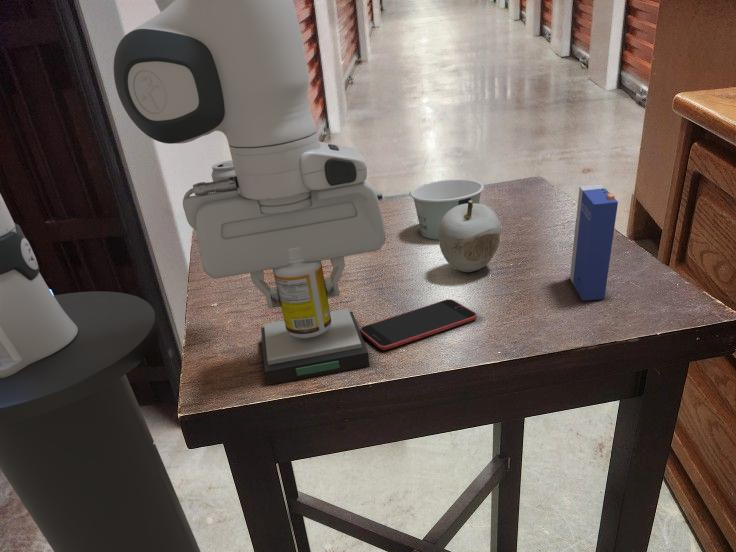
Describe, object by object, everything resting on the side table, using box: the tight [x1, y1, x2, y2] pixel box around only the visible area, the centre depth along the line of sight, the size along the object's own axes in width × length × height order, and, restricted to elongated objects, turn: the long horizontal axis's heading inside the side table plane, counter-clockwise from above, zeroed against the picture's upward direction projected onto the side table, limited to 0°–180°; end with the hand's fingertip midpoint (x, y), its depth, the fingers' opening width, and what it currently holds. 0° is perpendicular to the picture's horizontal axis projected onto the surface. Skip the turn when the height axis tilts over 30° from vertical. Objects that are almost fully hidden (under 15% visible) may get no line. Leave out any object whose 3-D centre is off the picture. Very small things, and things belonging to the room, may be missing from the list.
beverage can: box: [211, 159, 240, 192], centre depth 112 cm, size 6×6×12 cm
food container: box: [410, 178, 485, 241], centre depth 102 cm, size 12×12×6 cm
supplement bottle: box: [272, 247, 331, 338], centre depth 70 cm, size 6×6×10 cm
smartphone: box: [359, 298, 478, 351], centre depth 77 cm, size 7×1×14 cm
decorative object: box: [438, 200, 502, 273], centre depth 87 cm, size 9×9×10 cm
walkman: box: [569, 184, 619, 302], centre depth 77 cm, size 8×3×12 cm, turn 178°
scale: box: [260, 308, 371, 386], centre depth 75 cm, size 12×12×2 cm
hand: (304, 300), depth 71 cm, fingers closed on supplement bottle, 5 cm apart
